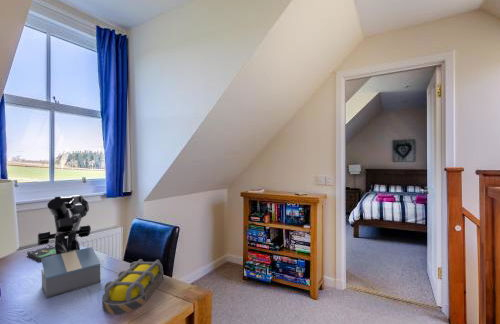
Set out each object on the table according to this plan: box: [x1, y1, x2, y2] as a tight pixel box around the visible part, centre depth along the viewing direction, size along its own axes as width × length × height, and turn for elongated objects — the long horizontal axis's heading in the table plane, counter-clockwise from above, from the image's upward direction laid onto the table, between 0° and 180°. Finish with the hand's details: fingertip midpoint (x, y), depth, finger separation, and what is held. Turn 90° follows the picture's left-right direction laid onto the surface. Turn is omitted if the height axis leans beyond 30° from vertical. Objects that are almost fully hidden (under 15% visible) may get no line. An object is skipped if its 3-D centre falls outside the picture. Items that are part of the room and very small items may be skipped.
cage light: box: [101, 258, 164, 315], centre depth 104 cm, size 15×8×30 cm
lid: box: [41, 246, 101, 280], centre depth 108 cm, size 13×18×1 cm
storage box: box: [41, 265, 101, 299], centre depth 109 cm, size 13×18×7 cm
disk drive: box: [26, 246, 58, 263], centre depth 140 cm, size 10×3×15 cm
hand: (68, 251), depth 112 cm, fingers closed
